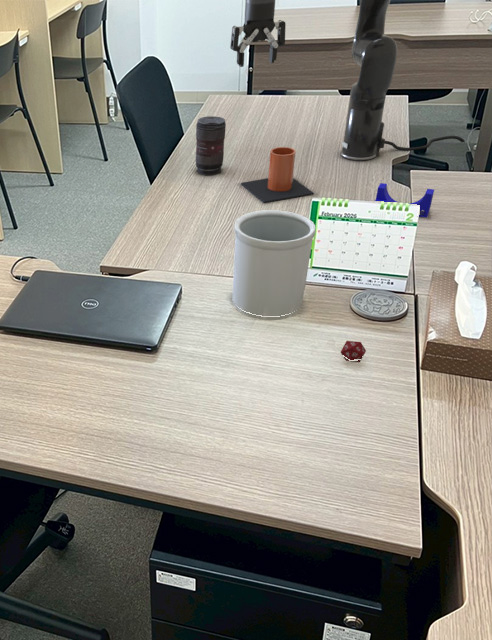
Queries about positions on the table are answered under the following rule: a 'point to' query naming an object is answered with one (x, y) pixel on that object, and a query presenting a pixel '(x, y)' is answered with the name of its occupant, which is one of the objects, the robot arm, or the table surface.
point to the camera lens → (210, 144)
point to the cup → (281, 169)
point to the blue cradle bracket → (423, 202)
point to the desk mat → (267, 195)
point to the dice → (353, 350)
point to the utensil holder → (271, 263)
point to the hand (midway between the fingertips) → (256, 64)
